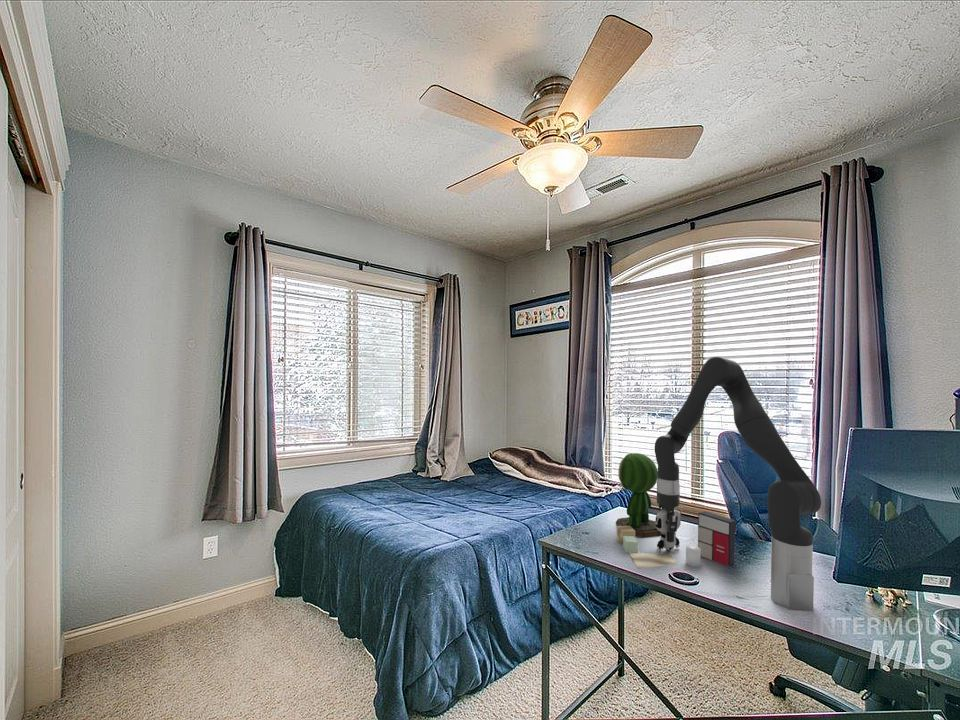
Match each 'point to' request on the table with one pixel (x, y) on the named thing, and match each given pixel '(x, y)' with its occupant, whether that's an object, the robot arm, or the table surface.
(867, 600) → the table surface
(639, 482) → the figurine
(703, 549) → the grey red panel box
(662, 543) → the robot toy
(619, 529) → the oak cube
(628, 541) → the sage brick
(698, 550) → the white upright block
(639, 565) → the birch pad
